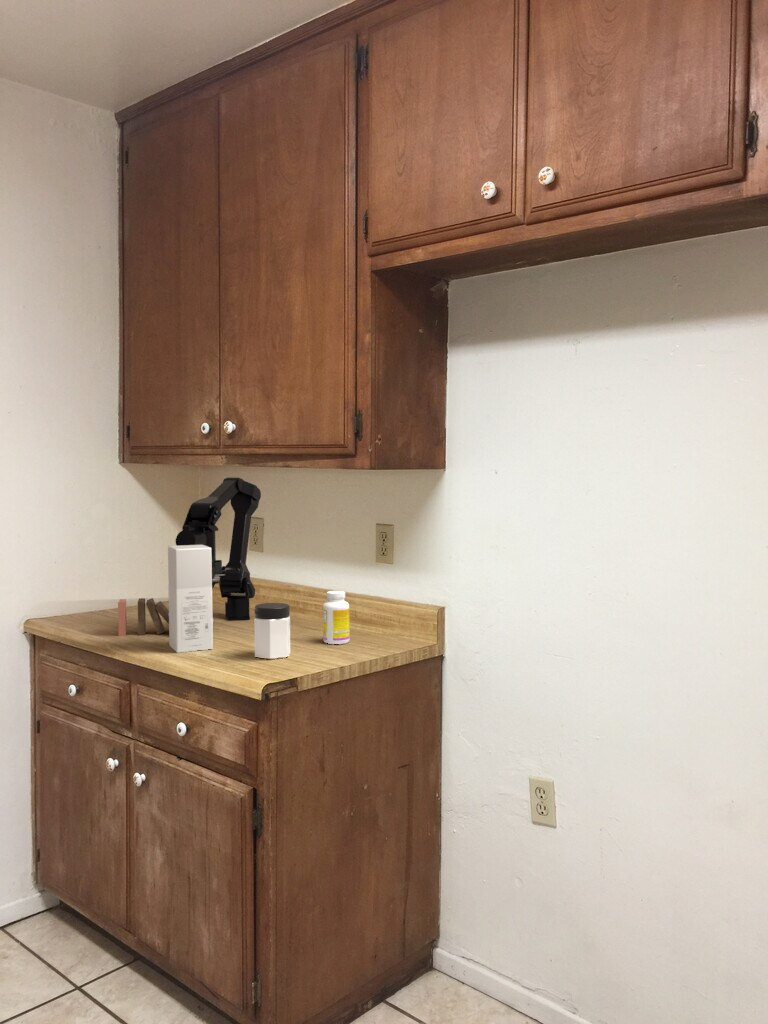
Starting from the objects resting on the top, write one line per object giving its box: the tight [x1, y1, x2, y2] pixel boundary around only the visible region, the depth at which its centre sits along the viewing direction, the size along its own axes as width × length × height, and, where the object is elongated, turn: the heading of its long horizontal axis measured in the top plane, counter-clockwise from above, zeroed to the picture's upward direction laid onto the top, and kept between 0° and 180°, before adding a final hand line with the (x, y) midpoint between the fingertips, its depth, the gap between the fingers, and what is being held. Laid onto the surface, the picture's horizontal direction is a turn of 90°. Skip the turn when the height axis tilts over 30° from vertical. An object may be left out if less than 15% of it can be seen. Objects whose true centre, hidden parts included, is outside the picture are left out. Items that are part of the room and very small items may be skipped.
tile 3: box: [137, 598, 147, 636], centre depth 234 cm, size 2×5×9 cm, turn 12°
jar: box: [253, 602, 291, 658], centre depth 207 cm, size 9×8×12 cm
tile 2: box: [145, 597, 165, 635], centre depth 234 cm, size 2×5×9 cm, turn 11°
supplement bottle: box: [322, 590, 351, 645], centre depth 222 cm, size 7×7×13 cm
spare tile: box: [117, 598, 128, 637], centre depth 233 cm, size 2×5×9 cm, turn 12°
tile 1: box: [155, 600, 169, 625], centre depth 235 cm, size 2×5×9 cm
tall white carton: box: [167, 545, 214, 654], centre depth 215 cm, size 9×9×25 cm
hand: (205, 606), depth 237 cm, fingers closed
